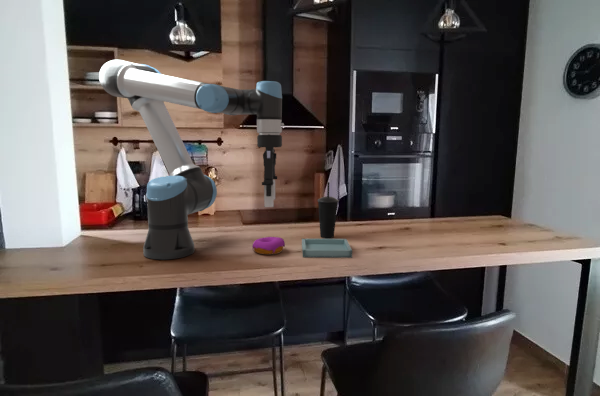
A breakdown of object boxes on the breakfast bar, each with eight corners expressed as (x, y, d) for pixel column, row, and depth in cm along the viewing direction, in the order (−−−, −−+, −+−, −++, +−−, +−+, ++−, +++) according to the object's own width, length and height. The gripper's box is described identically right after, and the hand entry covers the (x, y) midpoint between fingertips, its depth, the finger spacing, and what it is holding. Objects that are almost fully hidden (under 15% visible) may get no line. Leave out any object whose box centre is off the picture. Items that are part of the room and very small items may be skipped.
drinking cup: (336, 240, 148) (338, 184, 144) (315, 238, 149) (316, 183, 146) (338, 235, 155) (340, 181, 152) (318, 233, 157) (319, 180, 153)
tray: (302, 257, 127) (303, 250, 127) (301, 244, 141) (301, 238, 141) (352, 257, 128) (352, 250, 127) (346, 245, 141) (346, 238, 141)
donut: (272, 246, 140) (272, 232, 139) (291, 252, 132) (291, 238, 132) (246, 251, 133) (246, 237, 133) (264, 259, 126) (264, 244, 125)
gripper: (280, 134, 115) (281, 210, 118) (282, 133, 139) (283, 196, 143) (253, 134, 115) (254, 210, 118) (260, 133, 139) (261, 196, 143)
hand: (270, 203), depth 130 cm, fingers open, 13 cm apart
